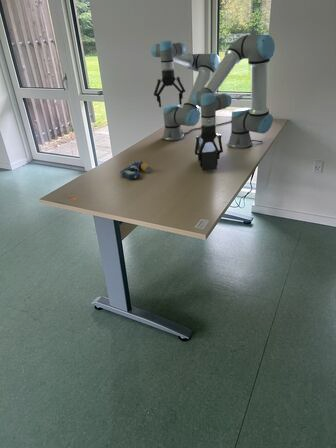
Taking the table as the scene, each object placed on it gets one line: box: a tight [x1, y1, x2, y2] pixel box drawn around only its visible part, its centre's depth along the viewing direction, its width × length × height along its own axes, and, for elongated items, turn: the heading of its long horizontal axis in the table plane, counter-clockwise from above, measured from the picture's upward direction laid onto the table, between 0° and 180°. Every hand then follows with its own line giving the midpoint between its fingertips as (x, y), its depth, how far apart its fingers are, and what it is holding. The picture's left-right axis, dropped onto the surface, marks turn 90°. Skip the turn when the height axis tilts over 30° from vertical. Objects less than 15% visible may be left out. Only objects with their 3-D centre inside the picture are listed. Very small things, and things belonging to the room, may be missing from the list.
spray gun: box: [119, 160, 152, 180], centre depth 195 cm, size 21×4×15 cm
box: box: [198, 138, 218, 171], centre depth 195 cm, size 28×8×10 cm, turn 1°
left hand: (170, 105), depth 215 cm, fingers open, 13 cm apart
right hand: (208, 165), depth 188 cm, fingers closed on box, 8 cm apart
